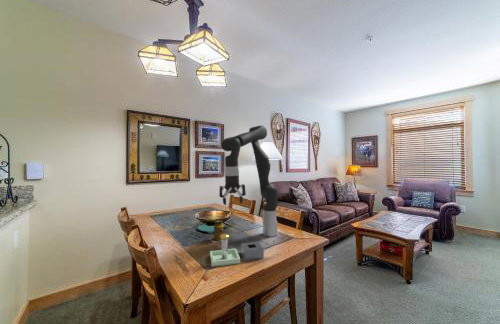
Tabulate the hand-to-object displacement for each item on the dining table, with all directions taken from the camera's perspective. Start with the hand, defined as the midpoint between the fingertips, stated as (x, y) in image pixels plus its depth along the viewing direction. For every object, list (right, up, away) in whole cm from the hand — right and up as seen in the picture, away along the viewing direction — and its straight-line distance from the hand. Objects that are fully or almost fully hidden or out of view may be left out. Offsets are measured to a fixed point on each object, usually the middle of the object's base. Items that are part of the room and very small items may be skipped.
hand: (232, 204), depth 113 cm
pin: (-4, -27, -6) cm, 28 cm away
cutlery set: (-23, -28, +37) cm, 52 cm away
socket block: (+10, -28, -2) cm, 29 cm away
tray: (-4, -28, -6) cm, 29 cm away
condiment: (-12, -28, +20) cm, 36 cm away
